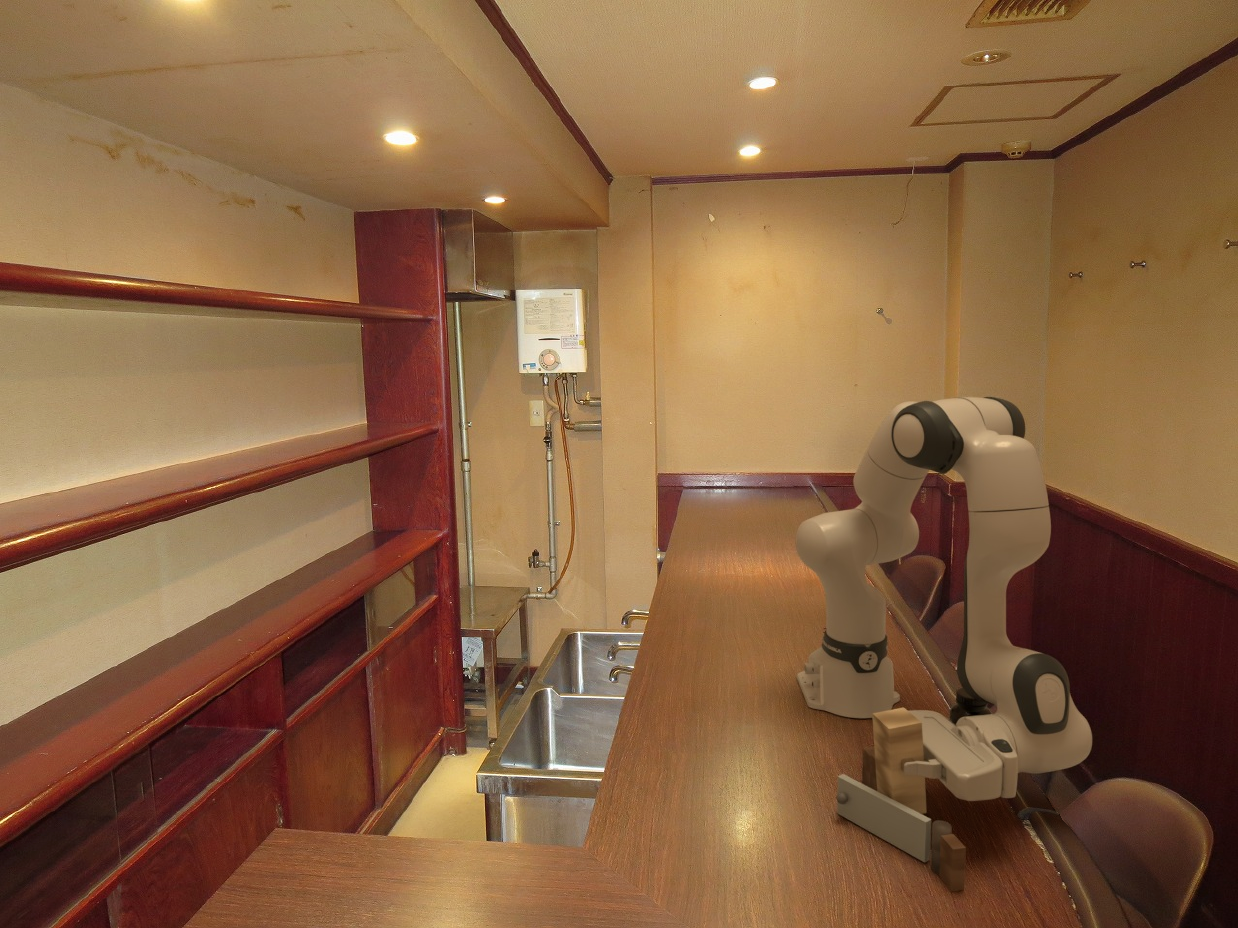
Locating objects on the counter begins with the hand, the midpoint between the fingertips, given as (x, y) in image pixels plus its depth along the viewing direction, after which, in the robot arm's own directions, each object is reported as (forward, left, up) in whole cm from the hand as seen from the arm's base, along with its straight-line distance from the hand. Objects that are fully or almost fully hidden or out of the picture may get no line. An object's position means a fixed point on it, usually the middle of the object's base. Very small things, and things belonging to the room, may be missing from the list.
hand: (892, 756), depth 118 cm
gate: (+2, -3, -11) cm, 12 cm away
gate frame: (+1, +2, -11) cm, 12 cm away
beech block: (0, +2, -8) cm, 8 cm away
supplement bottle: (-16, +22, -12) cm, 30 cm away
